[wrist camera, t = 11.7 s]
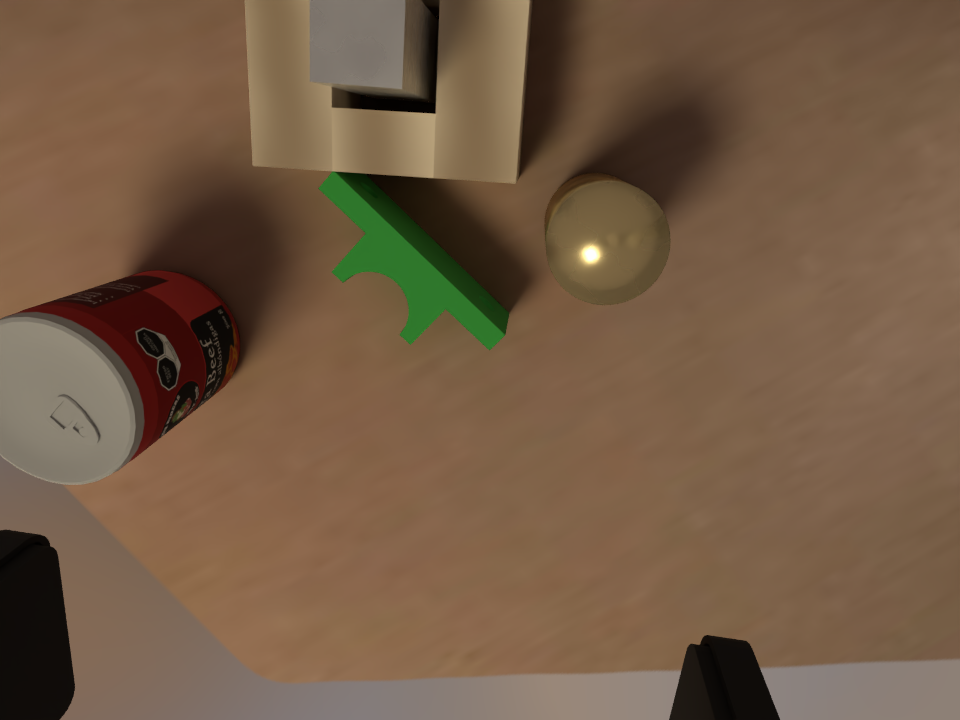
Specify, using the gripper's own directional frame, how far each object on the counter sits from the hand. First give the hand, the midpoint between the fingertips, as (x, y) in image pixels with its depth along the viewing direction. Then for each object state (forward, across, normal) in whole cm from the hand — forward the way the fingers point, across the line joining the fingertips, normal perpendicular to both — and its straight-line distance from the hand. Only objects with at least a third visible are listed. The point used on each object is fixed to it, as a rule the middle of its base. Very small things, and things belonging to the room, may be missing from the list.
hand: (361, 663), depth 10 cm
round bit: (+28, -4, -4) cm, 28 cm away
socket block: (+28, +6, -10) cm, 30 cm away
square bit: (+28, +6, -10) cm, 30 cm away
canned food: (+28, +18, +5) cm, 34 cm away
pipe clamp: (+28, +5, 0) cm, 29 cm away
